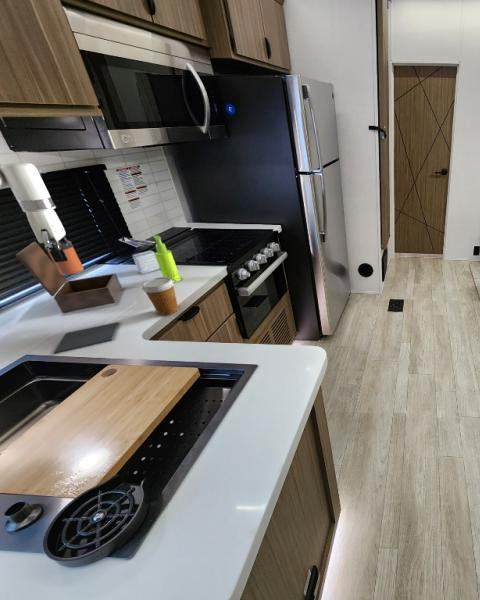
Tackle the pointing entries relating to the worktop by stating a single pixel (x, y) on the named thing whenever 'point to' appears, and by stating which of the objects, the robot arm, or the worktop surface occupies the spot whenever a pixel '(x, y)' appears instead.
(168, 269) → the soap dispenser
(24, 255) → the chest lid
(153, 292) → the disposable coffee cup
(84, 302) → the chest
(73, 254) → the jar
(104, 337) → the mat
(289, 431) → the worktop surface
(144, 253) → the medicine box
